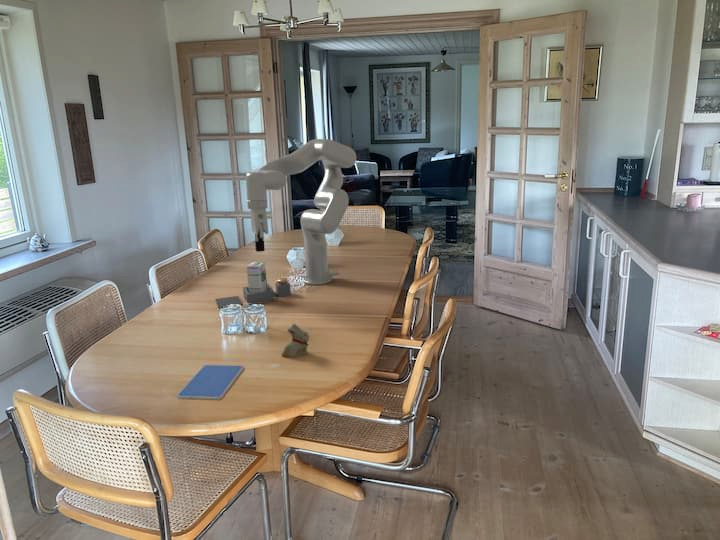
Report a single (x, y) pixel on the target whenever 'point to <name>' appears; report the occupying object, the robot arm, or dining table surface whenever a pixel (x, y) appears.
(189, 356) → the dining table surface
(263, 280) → the syrup box
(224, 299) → the mat
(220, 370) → the tablet computer
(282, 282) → the plunger
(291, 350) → the chocolate bunny
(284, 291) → the housing
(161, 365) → the dining table surface
